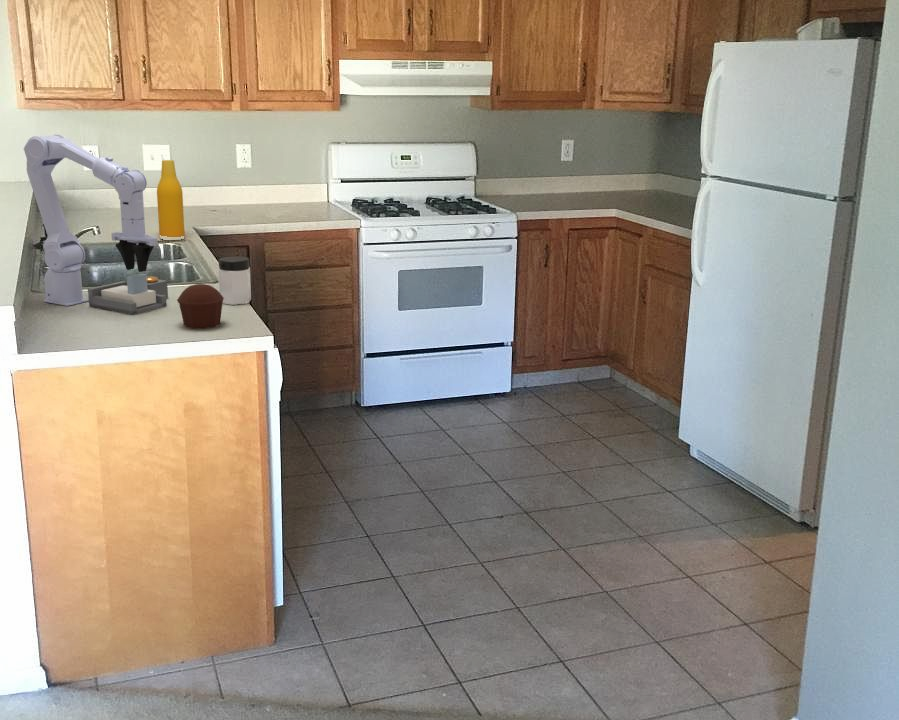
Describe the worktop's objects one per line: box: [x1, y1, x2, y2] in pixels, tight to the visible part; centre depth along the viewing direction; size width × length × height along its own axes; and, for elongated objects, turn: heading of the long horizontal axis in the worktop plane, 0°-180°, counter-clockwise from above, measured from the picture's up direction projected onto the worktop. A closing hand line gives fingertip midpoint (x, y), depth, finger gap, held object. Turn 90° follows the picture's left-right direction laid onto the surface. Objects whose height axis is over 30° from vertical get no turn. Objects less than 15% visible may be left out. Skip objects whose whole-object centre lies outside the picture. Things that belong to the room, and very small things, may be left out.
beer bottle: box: [156, 159, 186, 237], centre depth 361 cm, size 9×9×29 cm
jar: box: [217, 255, 252, 306], centre depth 267 cm, size 9×8×12 cm
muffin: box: [176, 283, 224, 330], centre depth 243 cm, size 12×11×10 cm
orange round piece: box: [147, 275, 159, 283], centre depth 269 cm, size 4×4×4 cm
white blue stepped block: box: [101, 273, 156, 307], centre depth 259 cm, size 12×8×8 cm, turn 61°
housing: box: [87, 279, 169, 316], centre depth 263 cm, size 16×19×5 cm
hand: (136, 270), depth 255 cm, fingers open, 4 cm apart
